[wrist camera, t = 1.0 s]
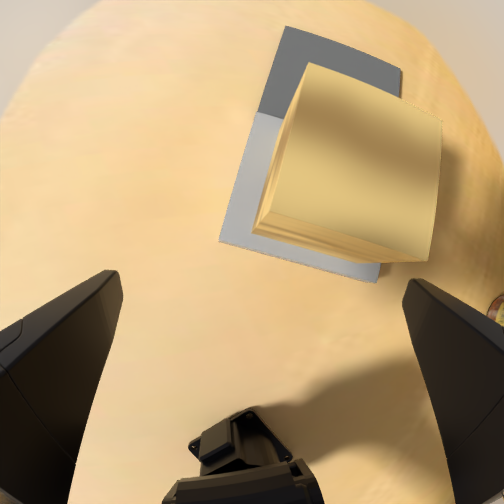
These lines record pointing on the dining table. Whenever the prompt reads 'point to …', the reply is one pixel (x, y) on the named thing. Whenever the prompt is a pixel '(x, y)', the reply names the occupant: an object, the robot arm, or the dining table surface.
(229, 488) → the robot arm
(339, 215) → the ochre block
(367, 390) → the dining table surface
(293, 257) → the block
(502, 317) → the sauce bottle
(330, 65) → the rubber pad
